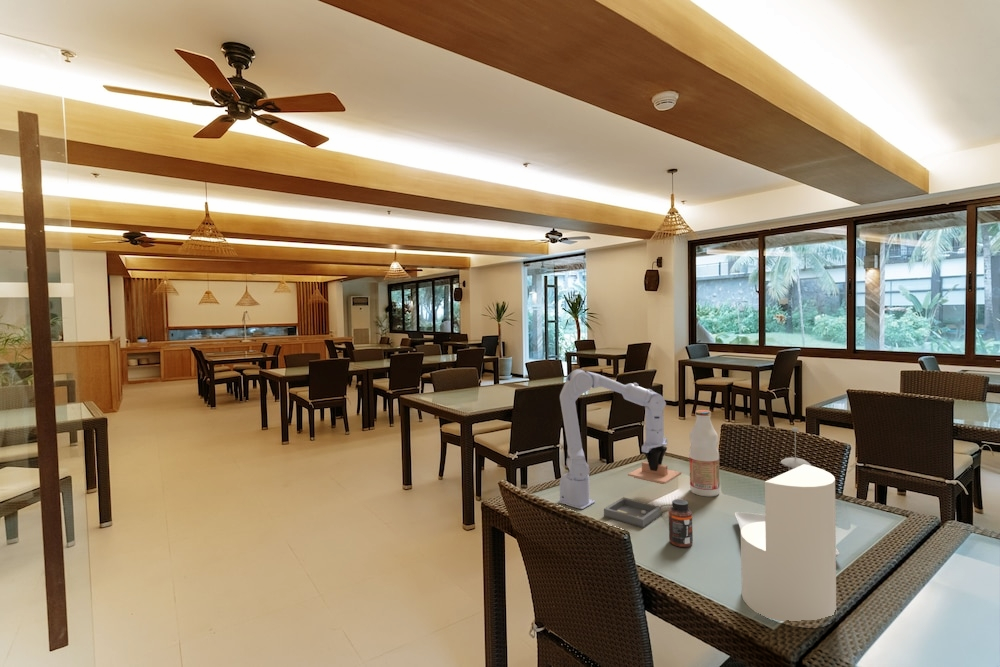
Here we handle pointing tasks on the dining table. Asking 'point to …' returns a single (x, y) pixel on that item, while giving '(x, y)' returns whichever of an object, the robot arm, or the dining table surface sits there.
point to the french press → (794, 461)
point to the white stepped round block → (792, 548)
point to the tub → (632, 512)
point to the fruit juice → (704, 456)
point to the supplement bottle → (680, 524)
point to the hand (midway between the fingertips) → (655, 469)
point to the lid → (654, 473)
